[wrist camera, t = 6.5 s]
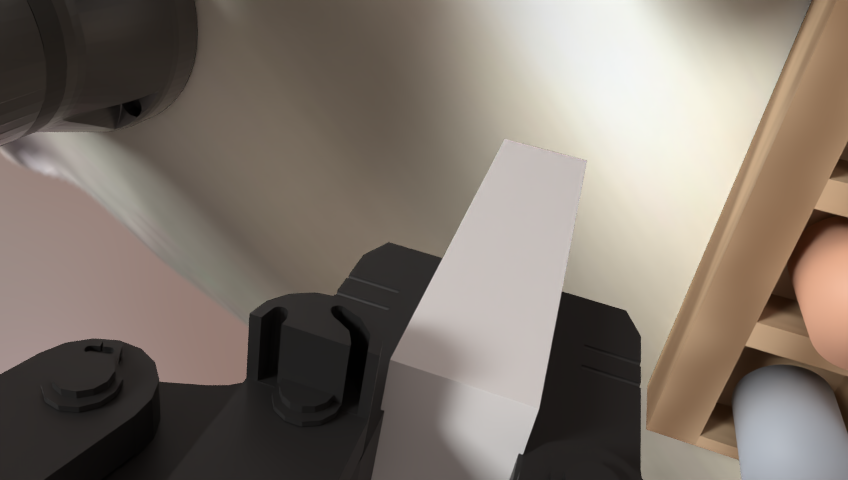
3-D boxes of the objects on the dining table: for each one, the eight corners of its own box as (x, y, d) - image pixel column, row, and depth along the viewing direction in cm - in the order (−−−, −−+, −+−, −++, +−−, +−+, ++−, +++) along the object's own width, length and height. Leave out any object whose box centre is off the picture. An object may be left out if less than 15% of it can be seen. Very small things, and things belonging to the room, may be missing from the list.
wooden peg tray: (647, 385, 42) (646, 429, 39) (819, -16, 30) (838, -4, 27) (851, 450, 40) (869, 502, 37) (1123, 45, 28) (1186, 67, 25)
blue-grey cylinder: (717, 421, 38) (725, 502, 33) (752, 352, 36) (767, 429, 31) (810, 451, 37) (834, 540, 32) (853, 382, 35) (886, 467, 30)
